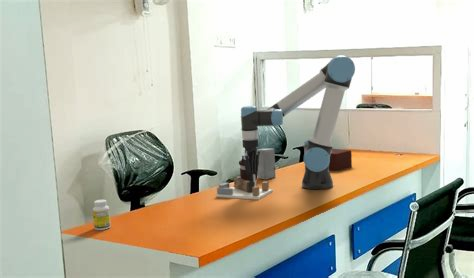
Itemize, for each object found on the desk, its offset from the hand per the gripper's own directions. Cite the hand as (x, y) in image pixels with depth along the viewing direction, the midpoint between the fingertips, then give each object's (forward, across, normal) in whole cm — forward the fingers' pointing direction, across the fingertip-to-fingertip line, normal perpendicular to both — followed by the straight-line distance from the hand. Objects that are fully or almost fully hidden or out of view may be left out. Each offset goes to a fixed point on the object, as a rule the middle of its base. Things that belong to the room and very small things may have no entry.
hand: (252, 187), depth 266 cm
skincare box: (+4, -34, -12) cm, 36 cm away
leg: (+1, +1, -4) cm, 5 cm away
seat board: (+3, +4, -2) cm, 5 cm away
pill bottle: (+1, +74, -24) cm, 78 cm away
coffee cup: (+3, -8, -8) cm, 12 cm away
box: (+5, -74, +8) cm, 74 cm away
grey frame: (+4, -14, -16) cm, 21 cm away
